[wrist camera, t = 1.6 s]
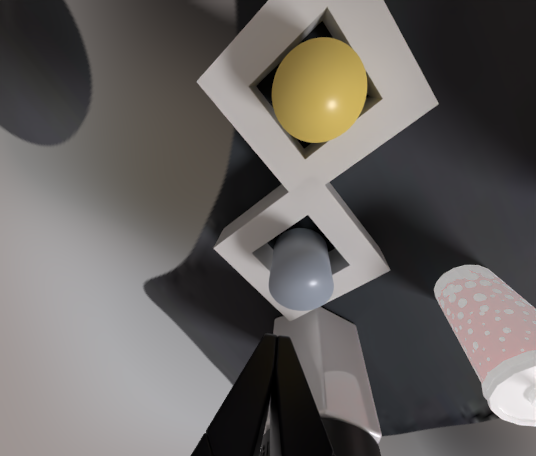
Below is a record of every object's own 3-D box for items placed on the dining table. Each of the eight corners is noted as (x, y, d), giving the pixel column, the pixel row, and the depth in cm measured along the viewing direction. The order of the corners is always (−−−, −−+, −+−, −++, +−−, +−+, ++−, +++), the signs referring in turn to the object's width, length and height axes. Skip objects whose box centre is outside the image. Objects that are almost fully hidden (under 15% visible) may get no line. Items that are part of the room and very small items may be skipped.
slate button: (305, 217, 19) (307, 248, 15) (338, 256, 20) (346, 293, 16) (262, 246, 20) (255, 281, 17) (295, 280, 21) (294, 319, 18)
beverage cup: (412, 277, 22) (550, 510, 10) (492, 243, 20) (791, 490, 8) (439, 322, 24) (581, 562, 12) (515, 296, 22) (781, 557, 10)
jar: (272, 300, 25) (254, 454, 15) (360, 306, 24) (407, 474, 14) (271, 360, 29) (257, 513, 19) (346, 367, 29) (374, 531, 18)
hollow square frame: (332, -49, 14) (340, -82, 11) (416, 100, 16) (438, 103, 14) (212, 82, 17) (196, 81, 14) (298, 187, 20) (298, 203, 17)
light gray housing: (312, 160, 19) (315, 172, 16) (379, 247, 21) (390, 270, 19) (223, 228, 22) (213, 248, 19) (290, 296, 25) (289, 321, 22)
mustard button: (323, 29, 13) (331, 10, 10) (364, 96, 15) (385, 100, 11) (263, 87, 15) (252, 88, 11) (306, 144, 16) (308, 160, 13)
